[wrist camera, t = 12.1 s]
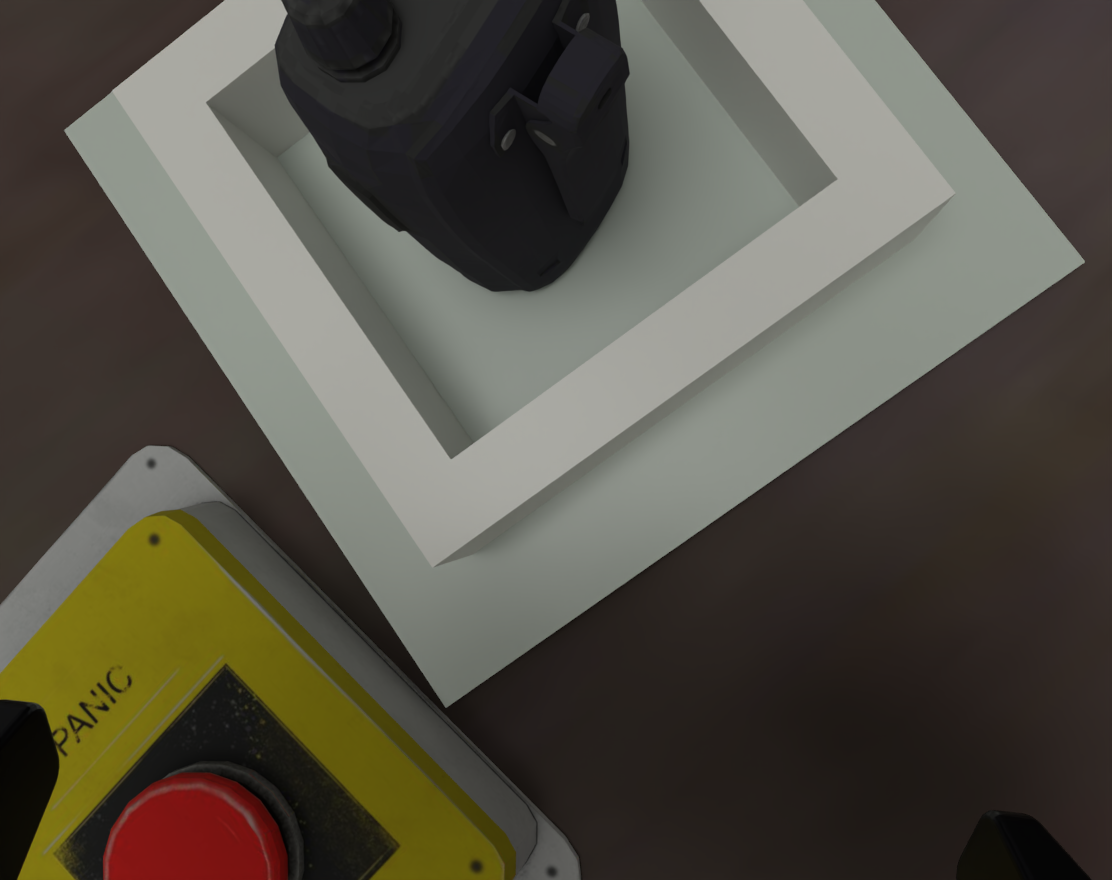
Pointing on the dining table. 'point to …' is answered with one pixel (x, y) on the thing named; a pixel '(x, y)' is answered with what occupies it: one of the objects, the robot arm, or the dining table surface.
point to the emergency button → (237, 713)
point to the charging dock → (577, 302)
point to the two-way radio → (468, 122)
